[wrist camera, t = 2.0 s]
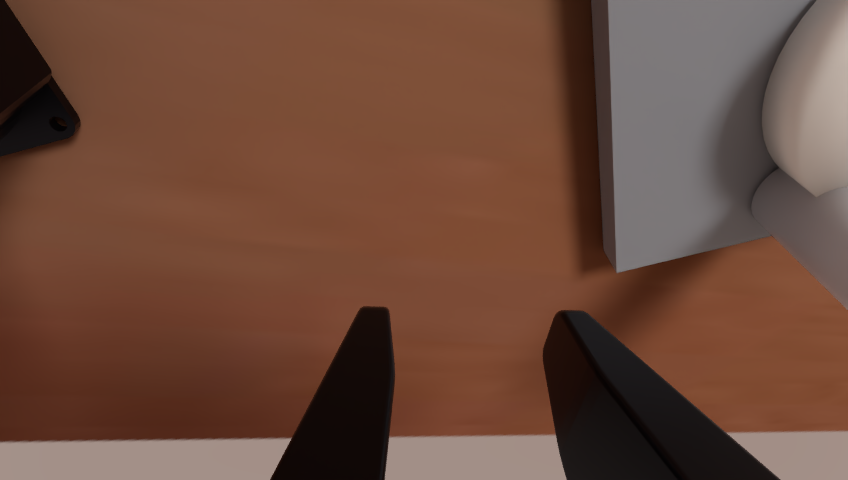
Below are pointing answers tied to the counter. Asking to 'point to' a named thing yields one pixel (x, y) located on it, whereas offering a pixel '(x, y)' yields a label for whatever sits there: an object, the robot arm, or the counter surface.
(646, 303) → the counter surface
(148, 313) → the counter surface
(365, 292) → the counter surface
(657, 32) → the stand
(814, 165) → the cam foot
